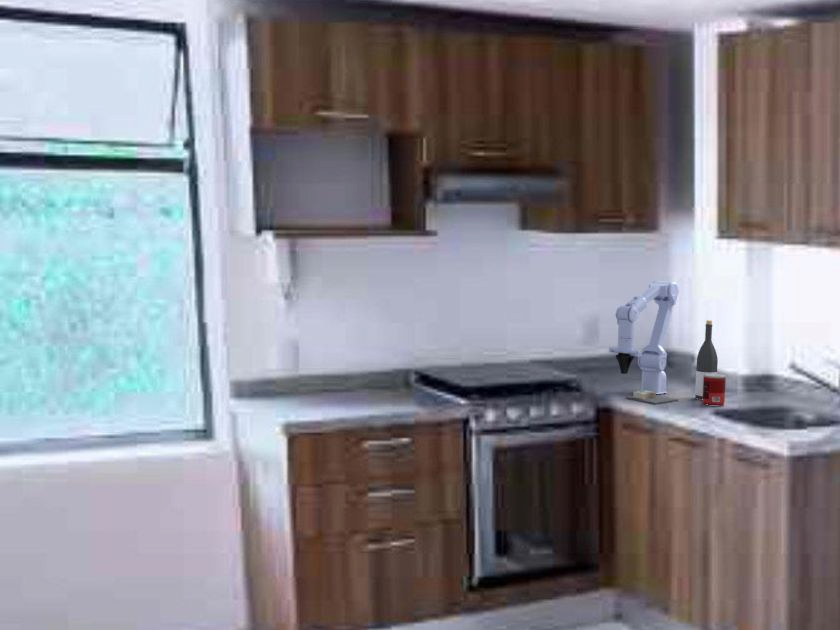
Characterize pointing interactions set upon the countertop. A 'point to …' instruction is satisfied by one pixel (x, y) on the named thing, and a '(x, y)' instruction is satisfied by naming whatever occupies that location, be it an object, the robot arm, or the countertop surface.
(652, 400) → the rubber mat
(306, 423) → the countertop surface
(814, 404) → the countertop surface
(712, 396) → the canned food
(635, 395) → the pale green block
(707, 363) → the wine bottle
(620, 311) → the robot arm
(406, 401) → the countertop surface
